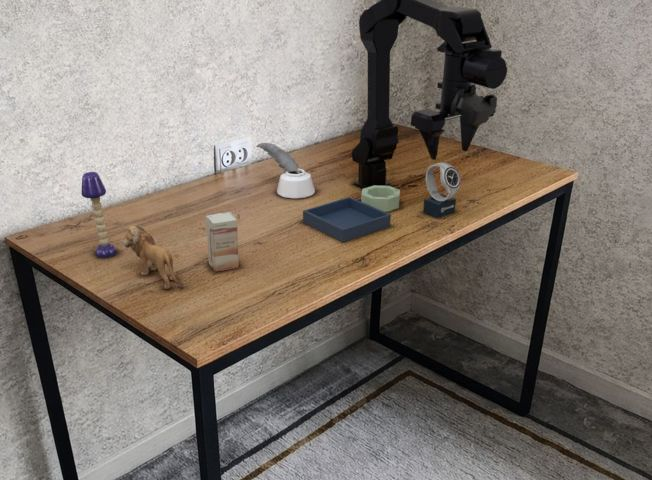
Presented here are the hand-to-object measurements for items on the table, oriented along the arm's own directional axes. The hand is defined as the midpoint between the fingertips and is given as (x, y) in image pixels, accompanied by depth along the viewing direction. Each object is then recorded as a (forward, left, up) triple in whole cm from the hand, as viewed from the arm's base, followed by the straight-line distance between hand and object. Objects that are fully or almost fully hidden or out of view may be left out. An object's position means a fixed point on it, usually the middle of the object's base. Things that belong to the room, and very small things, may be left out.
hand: (449, 155), depth 161 cm
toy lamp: (-29, -67, -14) cm, 74 cm away
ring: (-14, -6, -14) cm, 21 cm away
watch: (-3, +1, -14) cm, 14 cm away
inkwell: (-37, -17, -14) cm, 43 cm away
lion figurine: (-13, -64, -14) cm, 67 cm away
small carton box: (-9, -51, -14) cm, 53 cm away
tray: (-10, -19, -14) cm, 26 cm away
